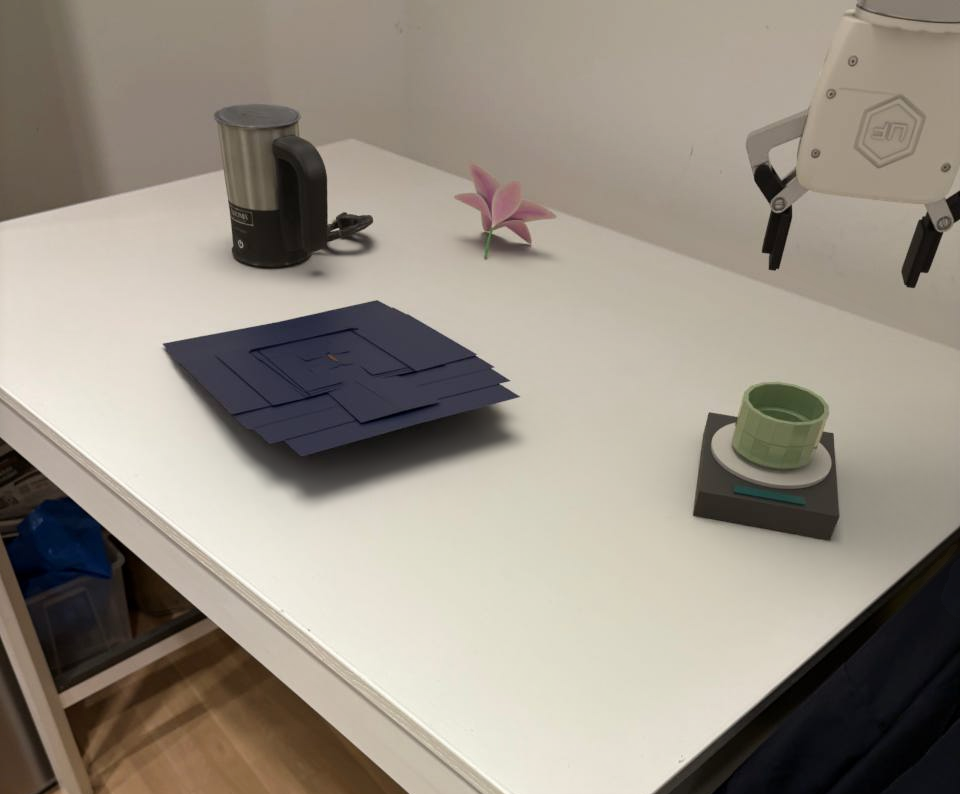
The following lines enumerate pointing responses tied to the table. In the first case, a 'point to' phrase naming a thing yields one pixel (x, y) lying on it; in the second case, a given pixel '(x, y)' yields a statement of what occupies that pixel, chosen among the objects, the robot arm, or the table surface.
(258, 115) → the milk frother
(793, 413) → the bowl
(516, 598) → the table surface
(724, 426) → the scale
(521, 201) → the lily
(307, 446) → the papers
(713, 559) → the table surface
